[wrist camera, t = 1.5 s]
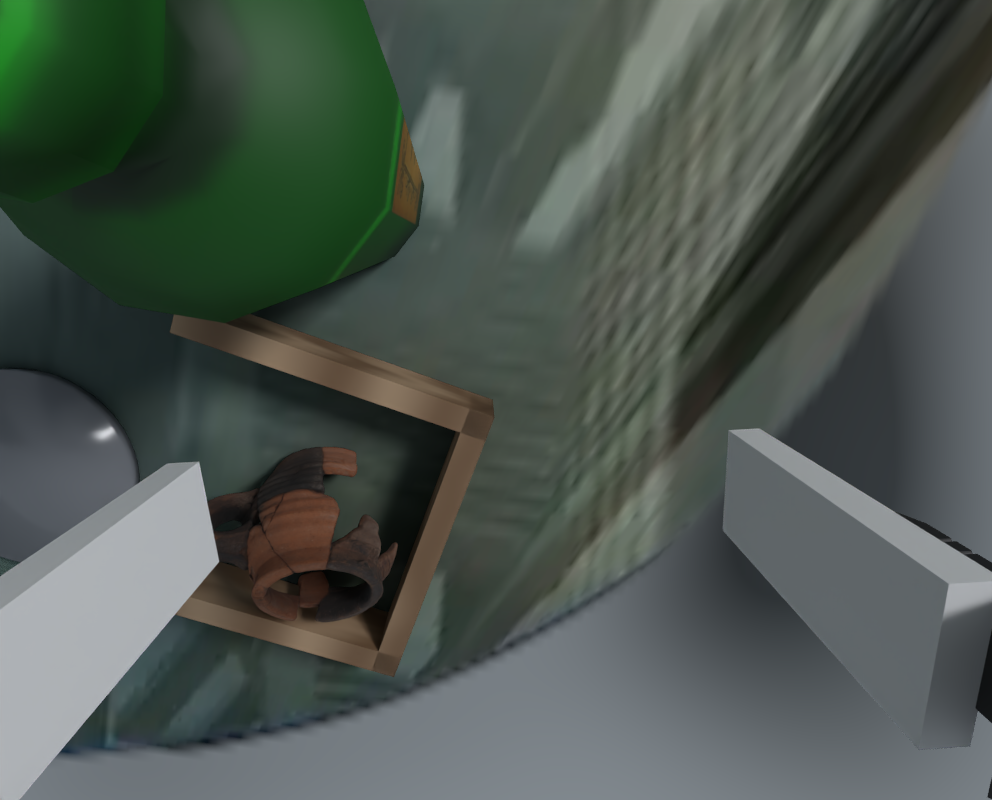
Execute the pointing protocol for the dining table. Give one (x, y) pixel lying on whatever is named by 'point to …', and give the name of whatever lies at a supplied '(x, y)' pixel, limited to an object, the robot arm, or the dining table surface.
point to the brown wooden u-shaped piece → (385, 634)
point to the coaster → (55, 459)
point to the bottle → (203, 147)
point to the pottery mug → (302, 539)
